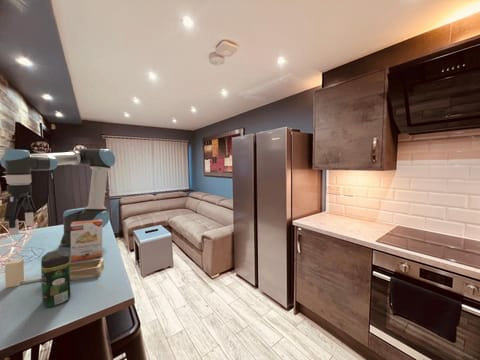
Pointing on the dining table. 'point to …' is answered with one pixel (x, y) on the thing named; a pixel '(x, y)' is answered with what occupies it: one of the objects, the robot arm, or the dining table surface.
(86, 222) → the cracker box
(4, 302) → the dining table surface
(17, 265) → the corded block
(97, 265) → the frame
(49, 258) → the coffee jar
